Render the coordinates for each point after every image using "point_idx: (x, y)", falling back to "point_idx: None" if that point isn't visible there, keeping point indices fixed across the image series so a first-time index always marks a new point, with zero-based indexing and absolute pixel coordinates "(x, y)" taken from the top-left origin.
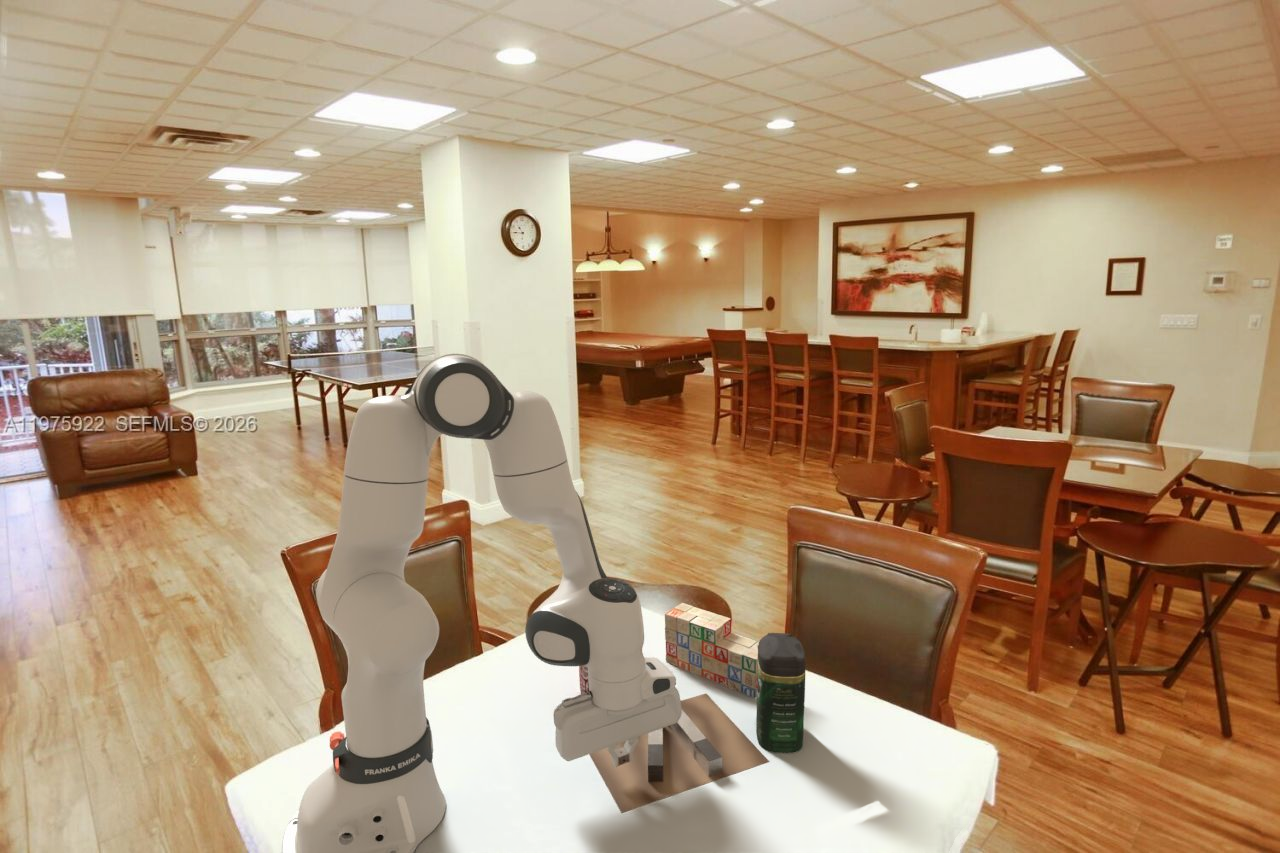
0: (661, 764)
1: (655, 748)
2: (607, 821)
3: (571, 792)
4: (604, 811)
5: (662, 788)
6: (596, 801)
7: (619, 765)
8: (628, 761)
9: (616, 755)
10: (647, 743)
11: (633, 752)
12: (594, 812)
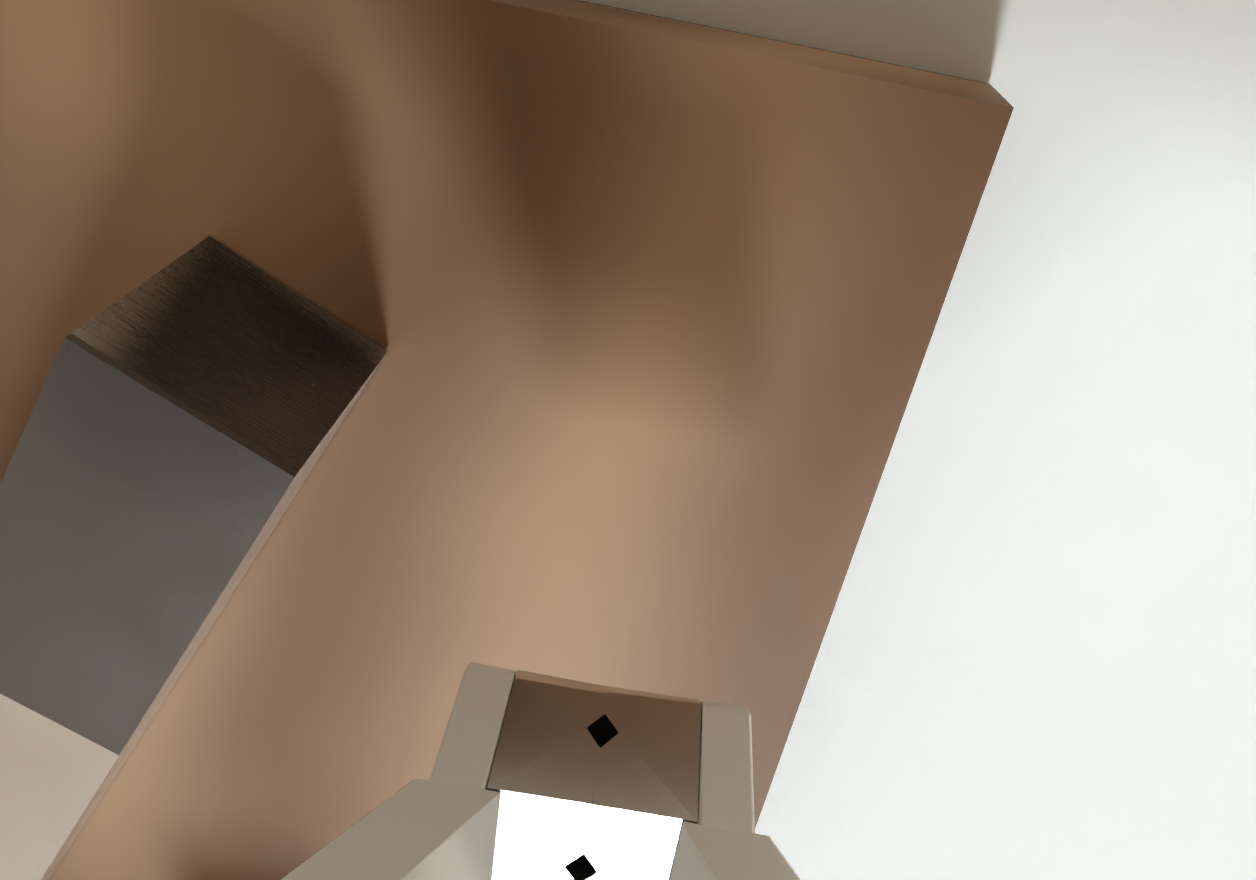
0: (82, 367)
1: (51, 655)
2: (1143, 175)
3: (1114, 720)
4: (1050, 330)
5: (274, 141)
6: (1010, 496)
7: (684, 699)
8: (533, 681)
9: (729, 873)
10: (140, 762)
11: (324, 754)
12: (1148, 385)
